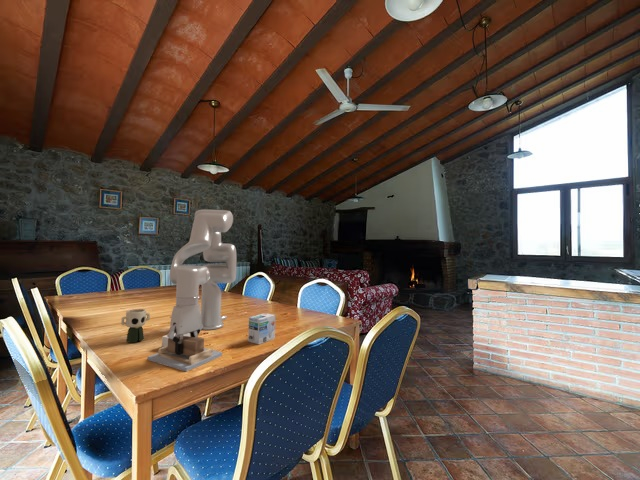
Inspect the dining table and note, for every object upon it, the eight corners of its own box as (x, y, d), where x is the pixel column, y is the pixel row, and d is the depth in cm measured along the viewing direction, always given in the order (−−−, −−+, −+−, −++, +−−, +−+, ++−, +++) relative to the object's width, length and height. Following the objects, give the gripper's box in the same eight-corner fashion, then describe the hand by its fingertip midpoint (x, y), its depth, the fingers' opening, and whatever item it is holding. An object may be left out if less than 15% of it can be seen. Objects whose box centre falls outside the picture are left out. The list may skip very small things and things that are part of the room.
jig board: (185, 346, 120) (185, 343, 120) (222, 355, 111) (222, 352, 111) (147, 359, 105) (147, 356, 105) (186, 371, 97) (186, 367, 97)
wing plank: (187, 340, 128) (187, 328, 128) (193, 342, 126) (194, 330, 126) (161, 348, 117) (162, 336, 117) (168, 350, 115) (168, 338, 115)
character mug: (124, 346, 118) (125, 314, 118) (117, 342, 122) (118, 311, 122) (152, 339, 127) (153, 309, 127) (144, 336, 131) (145, 307, 131)
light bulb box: (258, 345, 124) (259, 319, 124) (247, 341, 127) (248, 317, 128) (275, 338, 133) (276, 314, 133) (264, 335, 136) (265, 312, 137)
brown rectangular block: (176, 348, 111) (177, 334, 111) (203, 352, 107) (204, 338, 108) (167, 352, 106) (167, 338, 107) (195, 356, 103) (195, 342, 103)
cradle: (180, 347, 115) (180, 341, 115) (212, 355, 108) (212, 349, 108) (158, 355, 106) (158, 348, 106) (191, 365, 99) (191, 357, 99)
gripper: (198, 296, 117) (197, 342, 116) (158, 304, 101) (157, 357, 101) (212, 298, 113) (211, 345, 113) (173, 306, 98) (171, 361, 98)
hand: (185, 350), depth 107 cm, fingers closed on brown rectangular block, 5 cm apart
